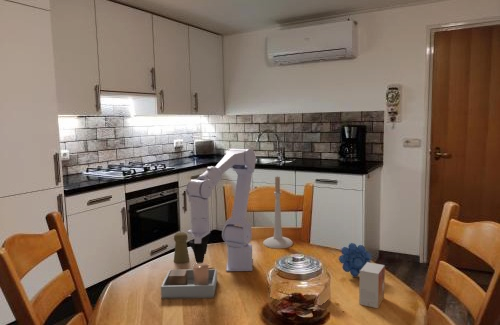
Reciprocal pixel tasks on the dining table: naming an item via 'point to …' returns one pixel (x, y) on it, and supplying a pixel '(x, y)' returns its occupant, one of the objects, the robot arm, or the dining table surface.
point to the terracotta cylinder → (201, 274)
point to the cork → (181, 248)
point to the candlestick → (277, 224)
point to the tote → (189, 287)
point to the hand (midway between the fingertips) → (201, 258)
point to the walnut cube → (178, 277)
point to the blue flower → (354, 258)
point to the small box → (371, 284)
